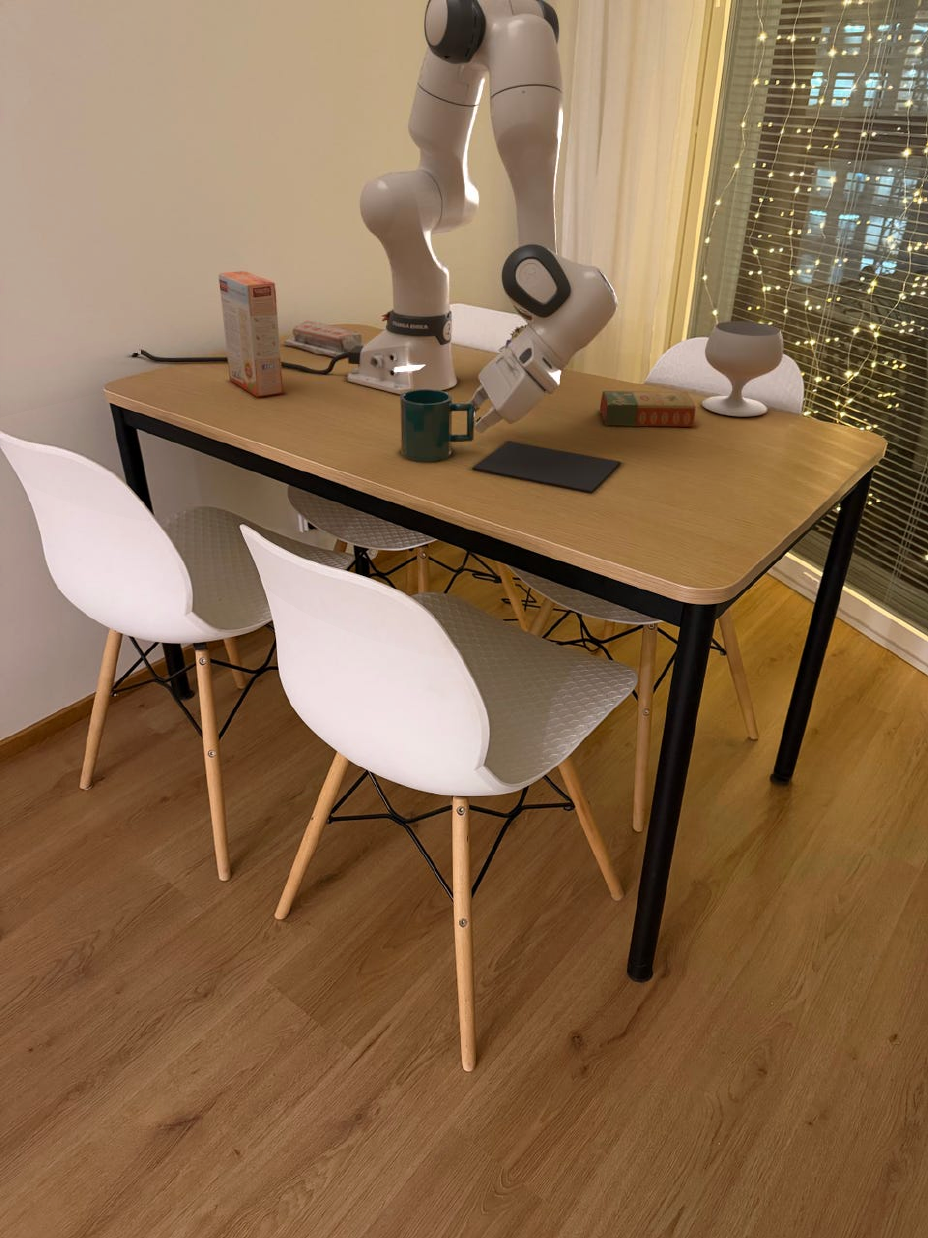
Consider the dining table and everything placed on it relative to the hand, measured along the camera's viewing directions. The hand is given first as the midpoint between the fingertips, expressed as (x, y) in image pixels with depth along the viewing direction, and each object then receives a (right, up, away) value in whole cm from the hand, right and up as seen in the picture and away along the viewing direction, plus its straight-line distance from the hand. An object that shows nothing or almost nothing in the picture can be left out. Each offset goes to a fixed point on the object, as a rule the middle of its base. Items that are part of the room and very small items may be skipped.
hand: (472, 419), depth 149 cm
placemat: (+12, -8, -3) cm, 15 cm away
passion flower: (+13, +22, +48) cm, 54 cm away
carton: (+32, +4, +19) cm, 38 cm away
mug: (-6, -5, +2) cm, 8 cm away
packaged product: (-33, +29, +59) cm, 73 cm away
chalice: (+50, +8, +26) cm, 57 cm away
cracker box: (-43, +13, +32) cm, 55 cm away
